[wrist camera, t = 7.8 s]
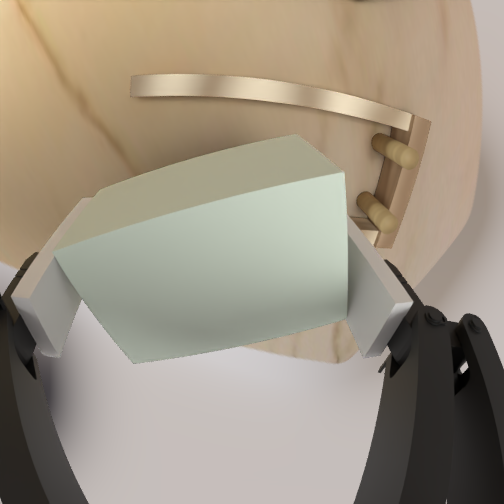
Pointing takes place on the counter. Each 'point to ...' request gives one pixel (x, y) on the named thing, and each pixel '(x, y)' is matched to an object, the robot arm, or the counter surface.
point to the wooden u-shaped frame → (393, 148)
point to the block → (214, 251)
